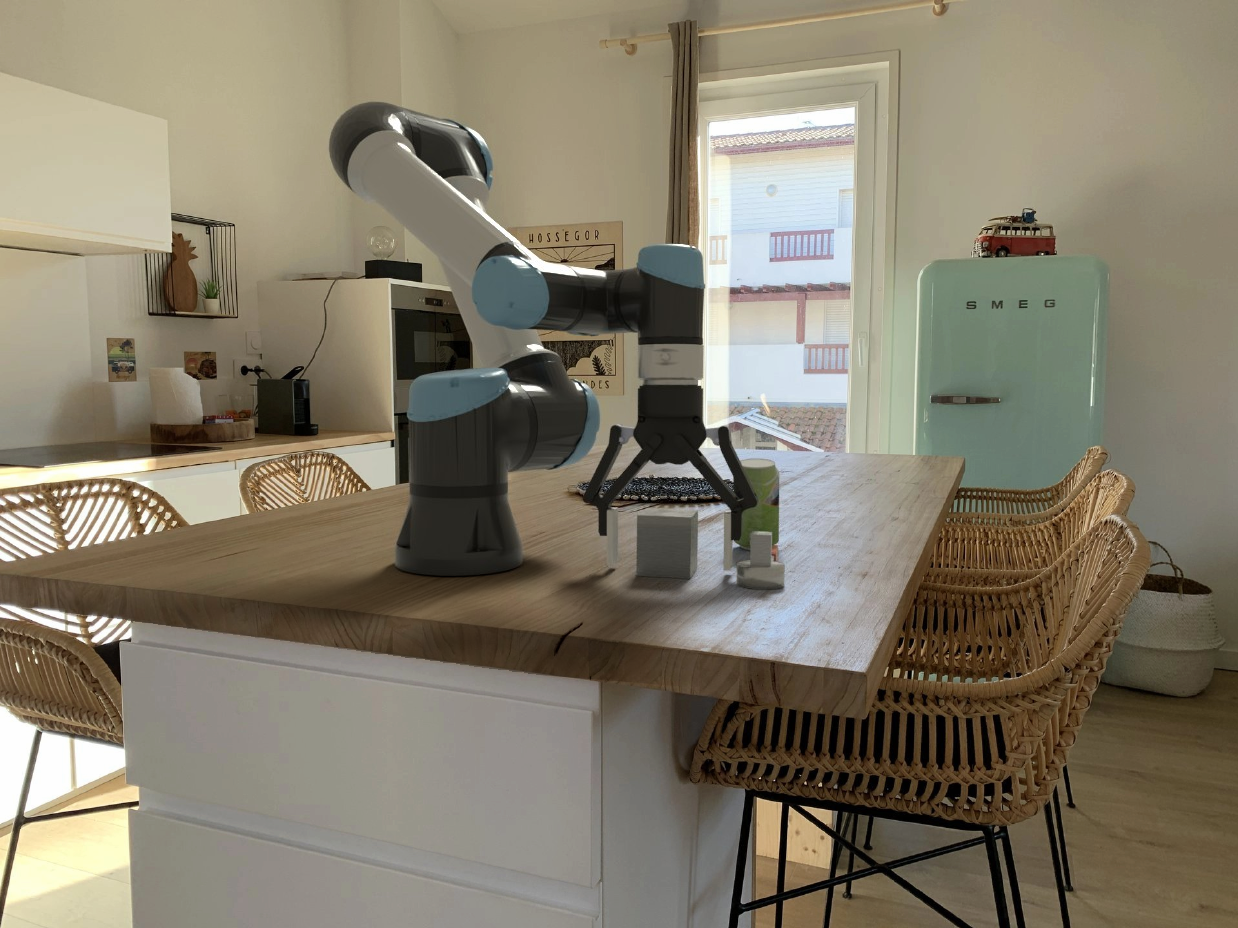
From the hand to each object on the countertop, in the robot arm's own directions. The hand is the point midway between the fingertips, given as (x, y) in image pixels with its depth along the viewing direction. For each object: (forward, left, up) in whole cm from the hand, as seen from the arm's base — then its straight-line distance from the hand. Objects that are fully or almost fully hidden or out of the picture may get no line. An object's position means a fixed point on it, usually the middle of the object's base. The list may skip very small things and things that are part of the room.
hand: (669, 566), depth 108 cm
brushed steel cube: (0, 0, -1) cm, 1 cm away
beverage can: (+9, +18, -1) cm, 20 cm away
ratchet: (+11, +2, -1) cm, 11 cm away
